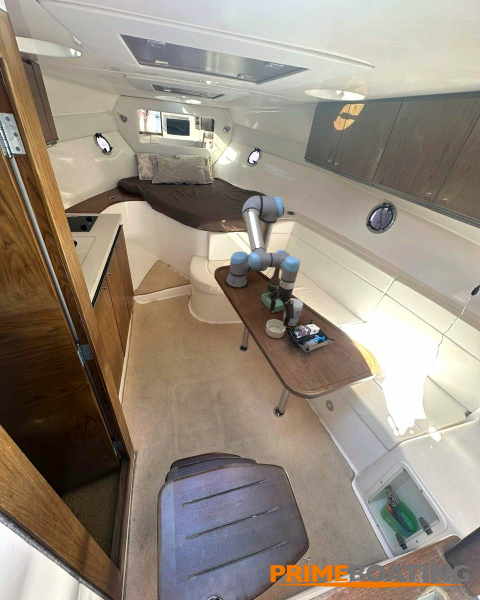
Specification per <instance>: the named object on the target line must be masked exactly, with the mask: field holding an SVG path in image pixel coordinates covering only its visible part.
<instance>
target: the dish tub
mask: <svg viewBox="0 0 480 600" xmlns="http://www.w3.org/2000/svg"><path fill="white" fill-rule="evenodd" d="M278 295H279V294H277V296H278ZM268 297H269V293H267V292H265V293H261V295H260V298H259V299H260V301H261V302H262V303H263V304H264V305H265V306H266V308H267V309H268V310H269V311H270V307H271V298H268ZM275 301H276V305H275V309H274V311H270V312H271V313H272V314H274V313H277V312H281V311H285V307H284V305H283V303H282V301H281V300H279V299H277V300H275ZM285 303H287V302H285Z"/></svg>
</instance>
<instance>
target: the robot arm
mask: <svg viewBox="0 0 480 600" xmlns="http://www.w3.org/2000/svg"><path fill="white" fill-rule="evenodd" d="M283 214H284V203H283V199H282V198H281V197H280V196H271V195H270V196H268V195H253V196H250V197H249V198H248V199H247V200H246V201H245V202H244V204H243V206H242V210H241V215H242V216H241V217H242V220H243V221H245V227H246V232H247V236H248V237H247V238H248V242H249V247H250V252H249V254H248V253H247V252H245V251H236V252H233V253H231V256H230V260H229V261H230V262H229V263H230V264H229V273H228V275H227V277H226V281H225V282H226V284H227V285H228V287H231V288H233V289H242V288H244V287H246V286H247V284H248V279H247V275H246V273H247V272H259V273H260V272H265V271H266V270H268V269H269V268H275V267H279V268H280V271H281V274H280V283H279V287H277V288H275V290H274V292H273V293H272V294H271V295H270V297H269V298H271V307H270V310H269V312H271V311H274V309H275V305H276V301H275V300H277V299H279V300H281V301H282V303H283V305H284V307H285V310H284V312H285V311H286V316H285V320H284V322H283V323H284V324H283V326H286V327H287V326H289V325H288V323H289V322H290V319H292V318H294V308H293V303H294V300H291V296H292V294H293V291H294V288H295V284H296V280H297V277H298V273H299V270H300V265H301V260H300V259H299V258H298V257H296V256H292V255H290V254H289V253H288V252H287V251H286V250H284V249H279V250H277V251H275V252H267V251H268V247H269V244H270V241H271V235H272V231H273V229H274V224H276V223H277V222H278V220H279V219H281V218H282V217H283ZM277 293H278V294H279V295H278V296H276V294H277ZM275 296H276V297H275ZM285 302H287V303H285Z"/></svg>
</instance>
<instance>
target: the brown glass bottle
mask: <svg viewBox="0 0 480 600" xmlns="http://www.w3.org/2000/svg"><path fill="white" fill-rule="evenodd" d="M280 271H281V269H280V268H279V267H274V271H273V274H272V276H271V277H270V279H269V281H268V284H267V289H266V293H269V297H270V295H271V294H272V293H273V292H274V290H275V288H277V287H279V283H280V279H281V277H280ZM277 294H278V293H277ZM277 294H276V296H277ZM276 296H275V297H276ZM269 297H268V298H269Z"/></svg>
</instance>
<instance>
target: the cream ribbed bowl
mask: <svg viewBox="0 0 480 600" xmlns="http://www.w3.org/2000/svg"><path fill="white" fill-rule="evenodd" d="M283 324H284V322H283V320H280V319H275V318H272V319H269V320H267V322H266V324H265V329H264V330H265V333H266V335H267V336H269V337H270V338H273V339H280V338H283V337H284V336H285V334H286V333H285V332H286V329H287V326H283Z"/></svg>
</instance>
